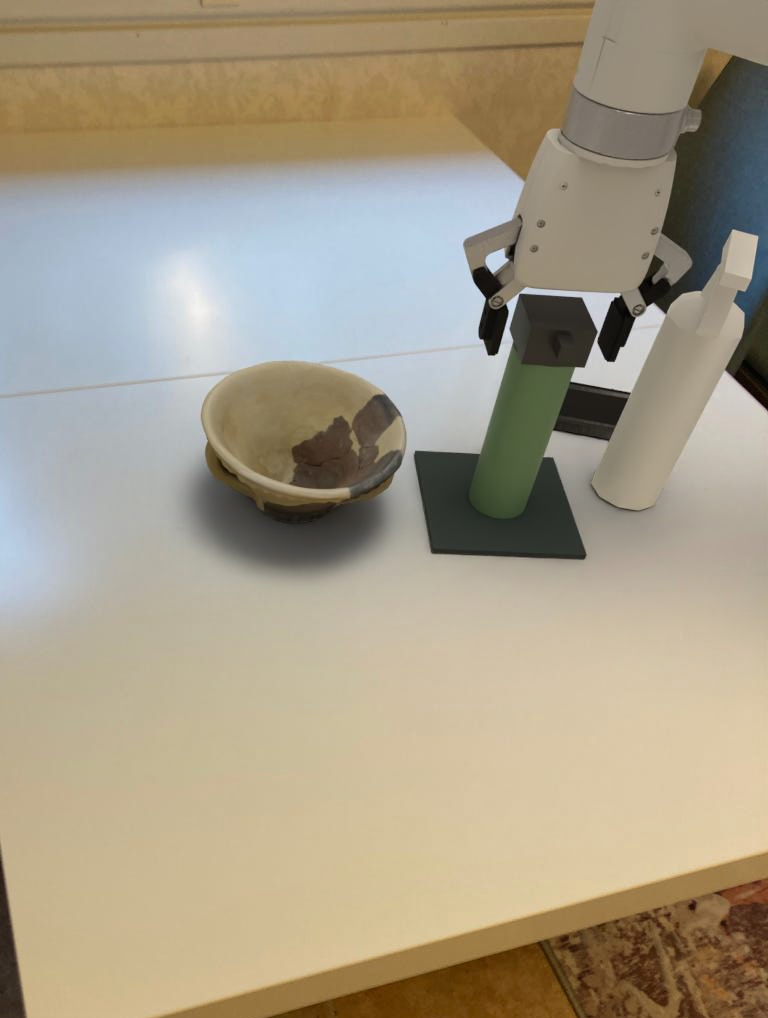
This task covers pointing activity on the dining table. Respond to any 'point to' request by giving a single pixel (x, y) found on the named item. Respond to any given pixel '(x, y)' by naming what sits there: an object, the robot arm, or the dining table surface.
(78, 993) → the dining table surface
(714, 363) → the white cylindrical bottle
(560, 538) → the mat
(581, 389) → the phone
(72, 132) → the dining table surface
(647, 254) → the robot arm
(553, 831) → the dining table surface
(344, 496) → the bowl
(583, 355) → the mister
